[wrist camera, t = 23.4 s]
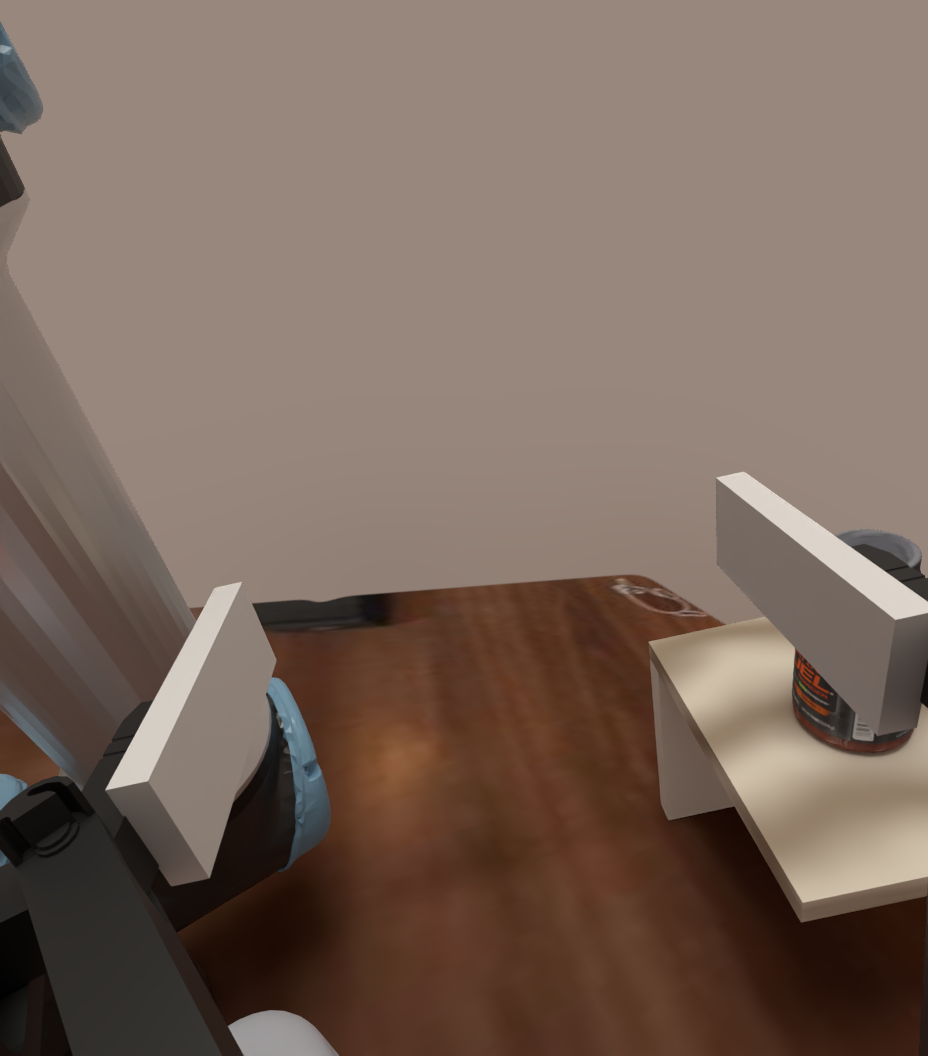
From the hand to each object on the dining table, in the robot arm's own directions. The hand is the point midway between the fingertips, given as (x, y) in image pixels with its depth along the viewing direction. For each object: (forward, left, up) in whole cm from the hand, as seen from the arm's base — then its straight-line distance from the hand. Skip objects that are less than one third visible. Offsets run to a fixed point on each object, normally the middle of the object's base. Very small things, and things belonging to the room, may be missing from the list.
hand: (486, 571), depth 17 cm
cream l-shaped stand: (+18, -12, -38) cm, 43 cm away
